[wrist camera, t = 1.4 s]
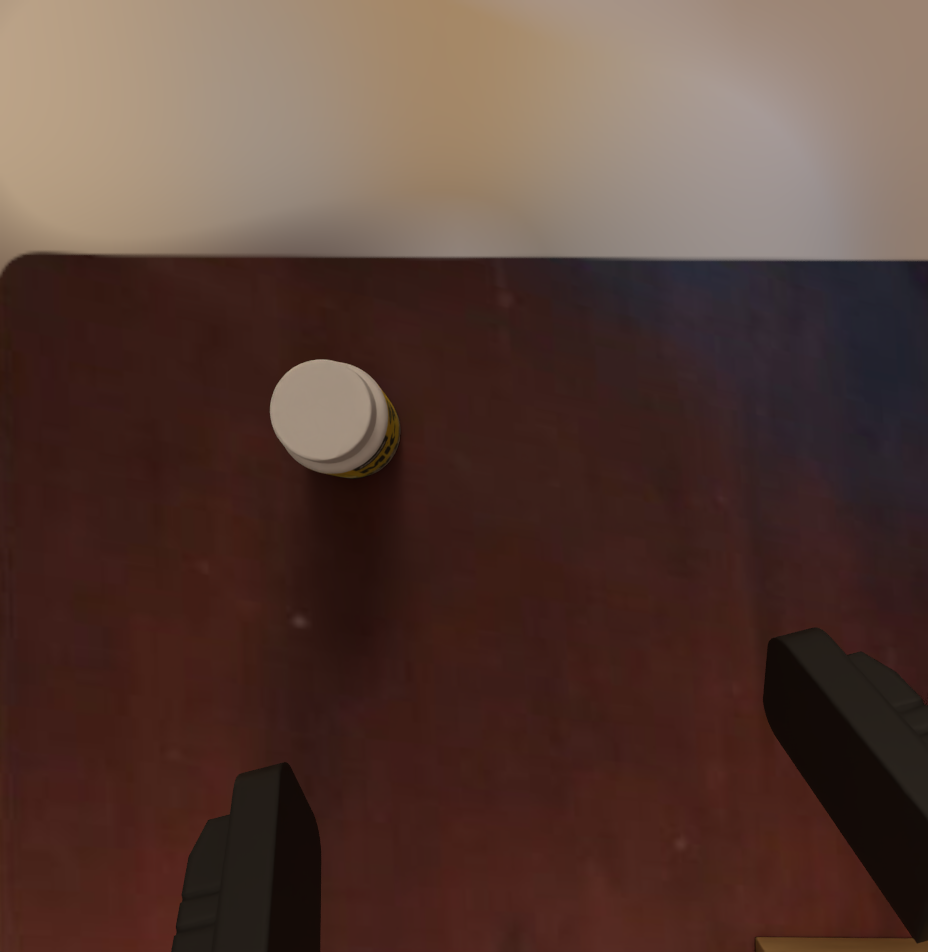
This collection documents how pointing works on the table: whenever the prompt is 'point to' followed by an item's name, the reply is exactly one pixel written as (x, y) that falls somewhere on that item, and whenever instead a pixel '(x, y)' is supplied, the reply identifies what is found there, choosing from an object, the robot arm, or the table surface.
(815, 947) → the wooden shelf
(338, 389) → the supplement bottle
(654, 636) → the table surface
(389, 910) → the table surface
